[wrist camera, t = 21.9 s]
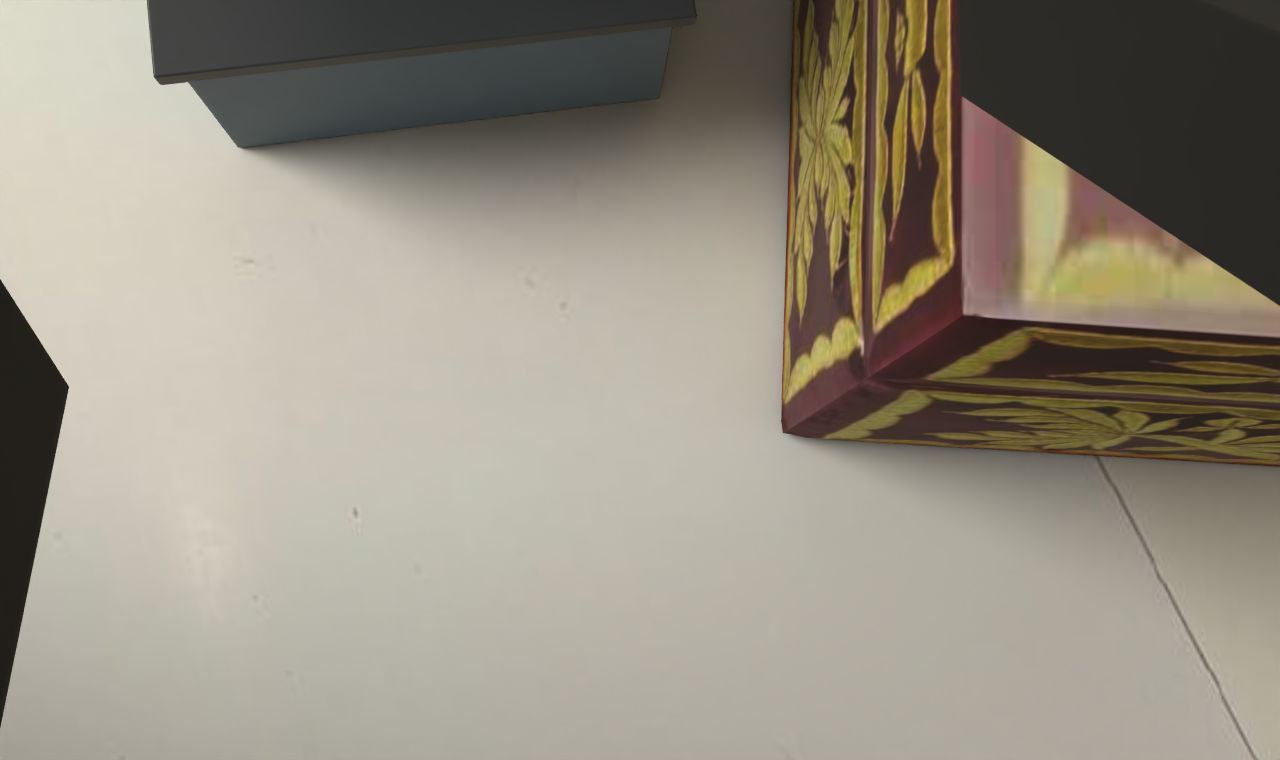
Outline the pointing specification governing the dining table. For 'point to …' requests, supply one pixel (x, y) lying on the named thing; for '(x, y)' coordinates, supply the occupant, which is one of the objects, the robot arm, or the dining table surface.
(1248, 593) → the dining table surface
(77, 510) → the dining table surface
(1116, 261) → the decorative box
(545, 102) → the container
